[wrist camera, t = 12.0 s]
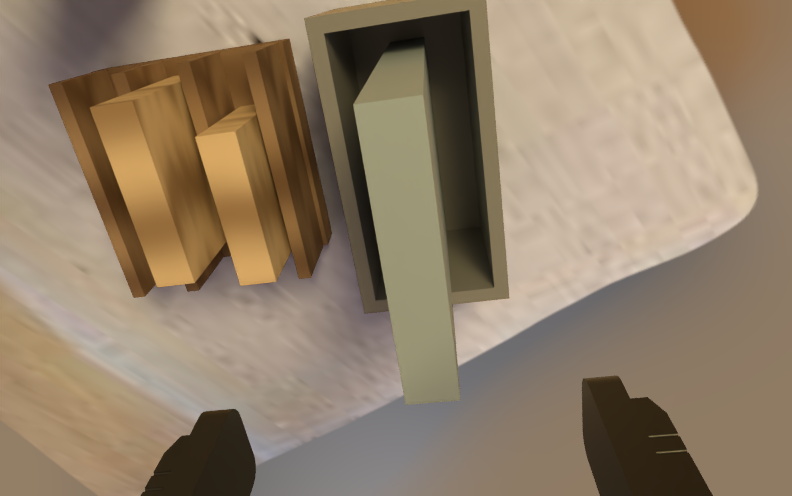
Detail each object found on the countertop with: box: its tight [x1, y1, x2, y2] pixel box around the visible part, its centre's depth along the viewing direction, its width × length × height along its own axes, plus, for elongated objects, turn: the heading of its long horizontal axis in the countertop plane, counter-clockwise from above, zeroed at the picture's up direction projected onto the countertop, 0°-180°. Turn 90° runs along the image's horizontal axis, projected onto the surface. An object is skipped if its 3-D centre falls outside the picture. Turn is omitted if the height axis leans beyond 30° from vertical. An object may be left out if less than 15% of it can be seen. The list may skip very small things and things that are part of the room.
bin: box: [304, 0, 509, 313], centre depth 34 cm, size 17×9×10 cm, turn 9°
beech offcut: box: [195, 104, 292, 286], centre depth 35 cm, size 9×2×8 cm, turn 9°
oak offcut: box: [90, 75, 227, 287], centre depth 34 cm, size 10×2×10 cm, turn 9°
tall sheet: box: [353, 37, 460, 405], centre depth 29 cm, size 12×2×20 cm, turn 8°
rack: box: [49, 39, 332, 298], centre depth 37 cm, size 14×13×7 cm
